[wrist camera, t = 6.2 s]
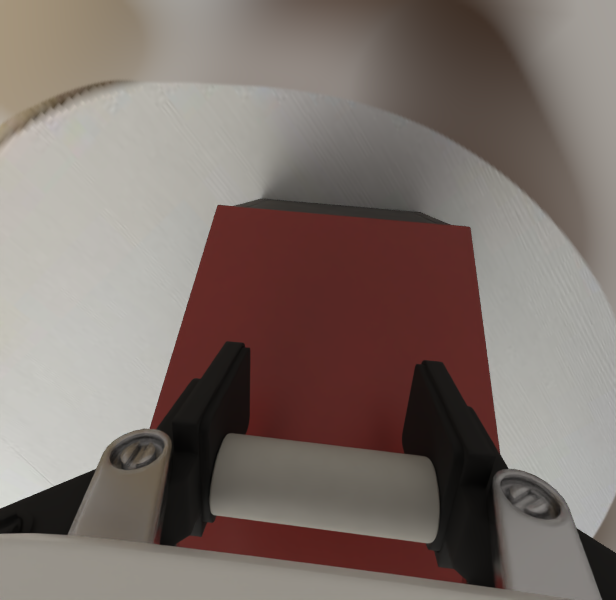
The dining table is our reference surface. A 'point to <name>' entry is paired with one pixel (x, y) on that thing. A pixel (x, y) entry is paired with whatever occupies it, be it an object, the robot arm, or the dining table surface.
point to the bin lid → (331, 381)
